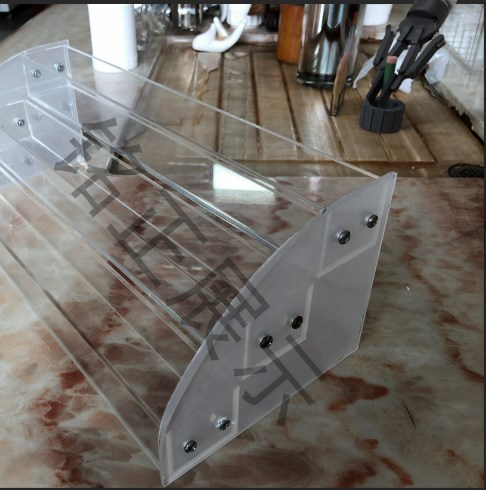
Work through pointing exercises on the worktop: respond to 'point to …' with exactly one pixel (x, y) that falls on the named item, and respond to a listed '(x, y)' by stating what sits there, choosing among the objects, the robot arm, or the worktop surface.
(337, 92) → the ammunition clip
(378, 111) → the grooved round container
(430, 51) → the robot arm
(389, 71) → the pencil
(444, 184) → the worktop surface
